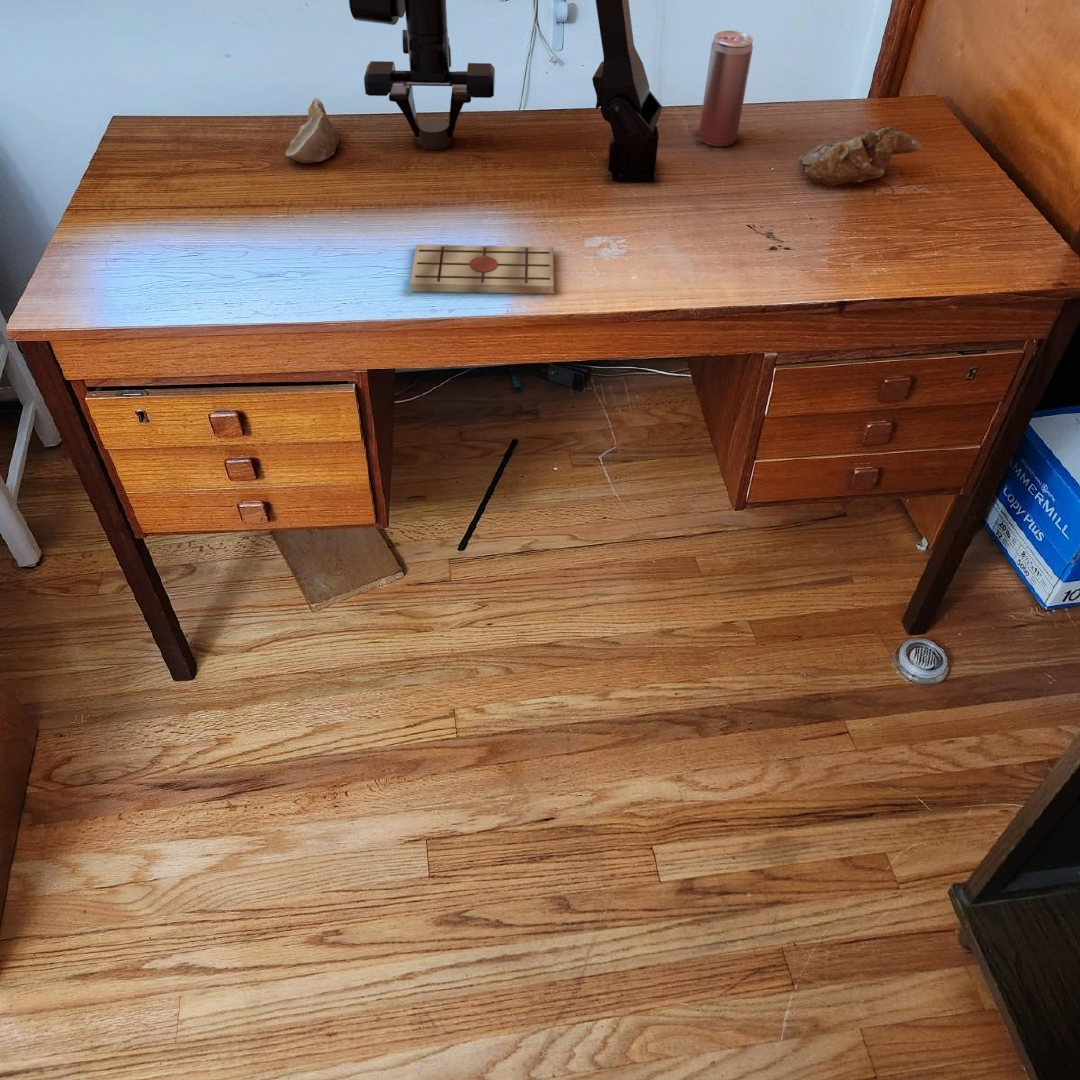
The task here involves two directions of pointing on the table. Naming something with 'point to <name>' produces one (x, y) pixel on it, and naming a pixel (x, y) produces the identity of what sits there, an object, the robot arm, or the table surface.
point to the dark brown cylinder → (433, 134)
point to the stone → (314, 137)
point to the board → (483, 269)
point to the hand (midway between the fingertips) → (434, 136)
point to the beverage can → (725, 87)
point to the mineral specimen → (856, 156)
